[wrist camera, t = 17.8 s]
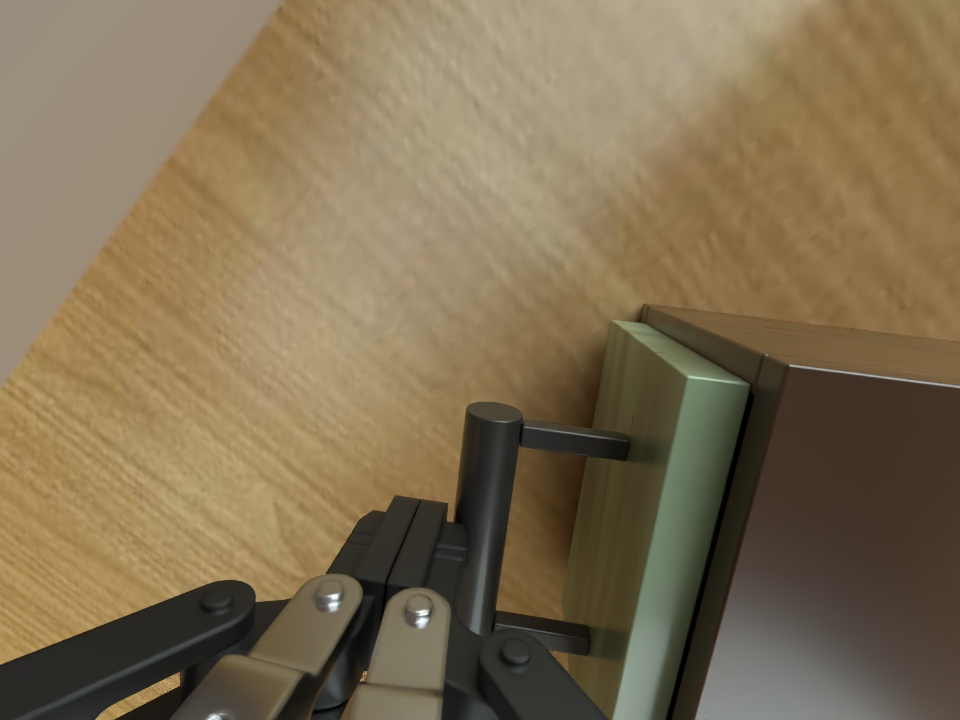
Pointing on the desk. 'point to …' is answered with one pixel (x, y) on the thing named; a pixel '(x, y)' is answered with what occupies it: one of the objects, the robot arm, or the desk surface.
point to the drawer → (614, 516)
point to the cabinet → (831, 527)
